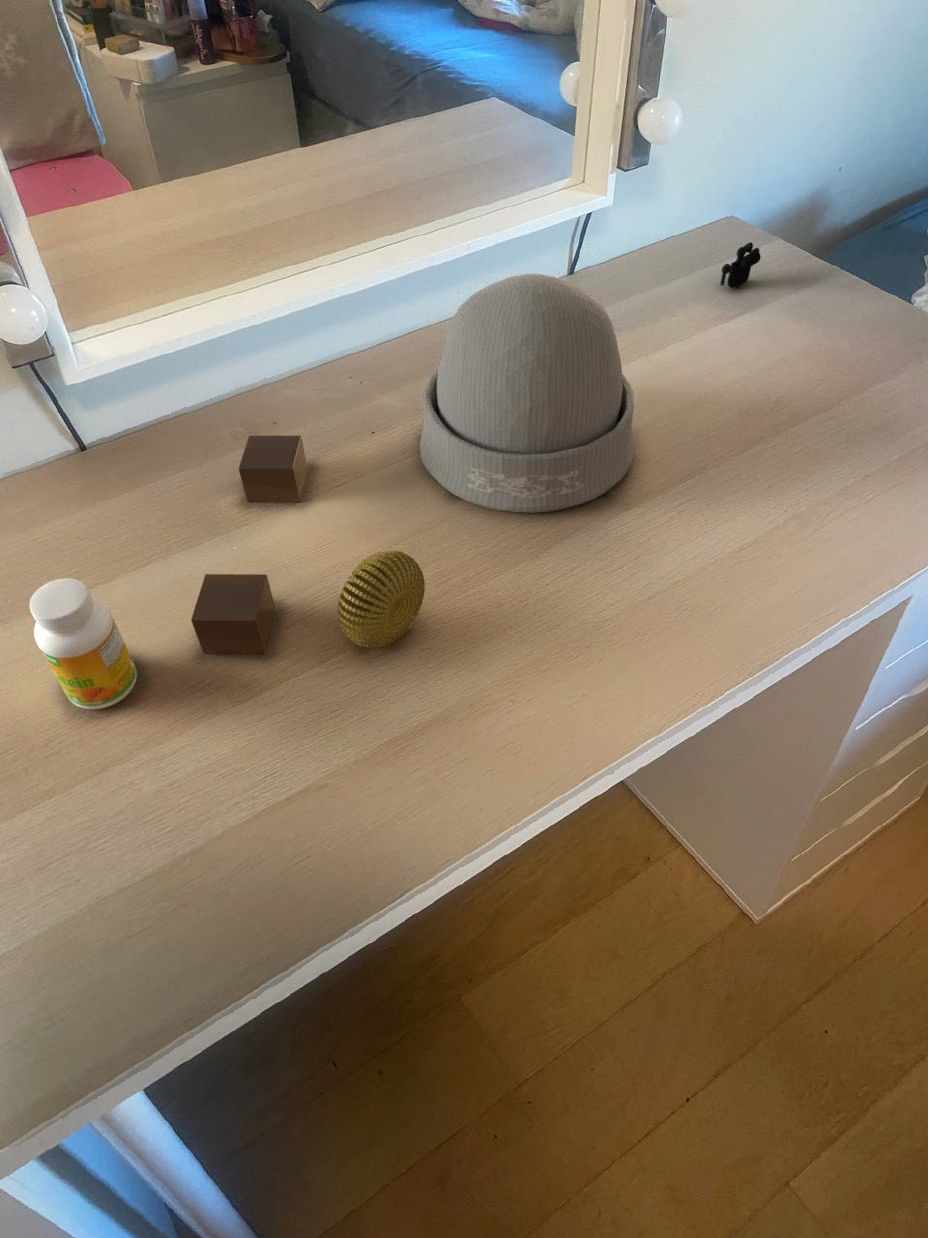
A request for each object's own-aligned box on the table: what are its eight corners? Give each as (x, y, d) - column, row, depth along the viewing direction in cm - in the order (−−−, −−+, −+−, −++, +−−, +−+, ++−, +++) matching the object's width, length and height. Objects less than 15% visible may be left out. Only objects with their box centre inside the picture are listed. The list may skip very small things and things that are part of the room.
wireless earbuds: (748, 273, 111) (757, 233, 107) (765, 280, 110) (775, 239, 106) (713, 292, 108) (722, 252, 104) (730, 300, 107) (739, 259, 103)
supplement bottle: (53, 704, 68) (2, 619, 61) (89, 651, 72) (44, 565, 64) (117, 717, 67) (72, 632, 60) (150, 663, 71) (112, 576, 64)
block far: (256, 468, 87) (248, 435, 84) (307, 468, 87) (301, 435, 84) (247, 502, 84) (238, 468, 81) (300, 502, 84) (293, 468, 81)
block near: (216, 607, 75) (205, 573, 72) (275, 607, 75) (266, 574, 72) (203, 653, 71) (190, 620, 68) (265, 653, 71) (255, 620, 68)
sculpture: (401, 594, 75) (393, 522, 69) (437, 616, 74) (432, 545, 68) (334, 651, 71) (319, 580, 65) (370, 675, 69) (359, 605, 64)
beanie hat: (419, 541, 91) (396, 463, 72) (433, 352, 96) (415, 232, 77) (625, 550, 90) (659, 474, 71) (629, 359, 95) (662, 238, 75)
